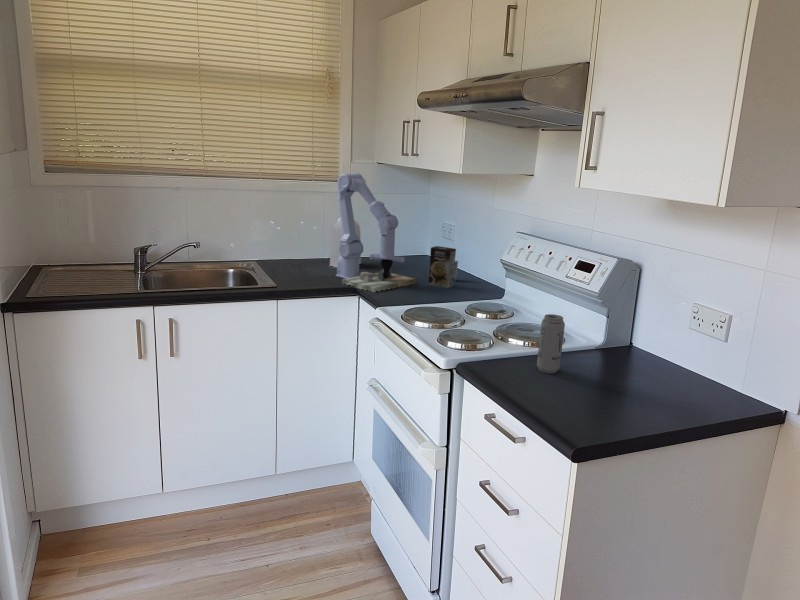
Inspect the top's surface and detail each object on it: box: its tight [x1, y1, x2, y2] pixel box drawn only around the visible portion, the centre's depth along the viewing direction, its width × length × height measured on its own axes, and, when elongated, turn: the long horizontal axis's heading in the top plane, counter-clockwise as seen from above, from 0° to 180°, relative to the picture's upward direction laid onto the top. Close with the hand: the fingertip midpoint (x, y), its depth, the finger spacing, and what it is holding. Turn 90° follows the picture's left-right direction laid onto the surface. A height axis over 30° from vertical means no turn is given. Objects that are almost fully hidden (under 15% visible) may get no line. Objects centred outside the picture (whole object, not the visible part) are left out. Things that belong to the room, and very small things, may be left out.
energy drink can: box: [536, 313, 566, 374], centre depth 162 cm, size 6×6×15 cm
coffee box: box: [428, 245, 457, 289], centre depth 253 cm, size 9×6×16 cm
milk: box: [329, 217, 362, 268], centre depth 283 cm, size 12×12×26 cm
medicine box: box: [453, 260, 459, 283], centre depth 265 cm, size 8×4×9 cm, turn 76°
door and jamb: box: [341, 271, 417, 293], centre depth 252 cm, size 18×26×5 cm
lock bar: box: [377, 267, 392, 279], centre depth 254 cm, size 12×3×3 cm, turn 166°
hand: (386, 277), depth 251 cm, fingers closed
